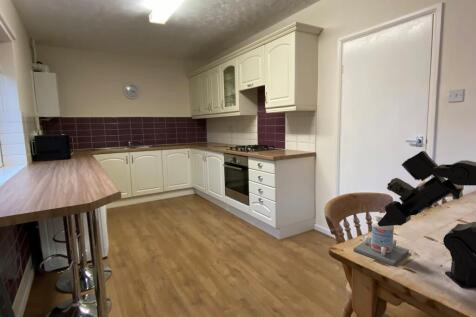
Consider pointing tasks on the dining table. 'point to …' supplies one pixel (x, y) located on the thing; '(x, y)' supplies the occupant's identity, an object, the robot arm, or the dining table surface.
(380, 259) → the pin tray
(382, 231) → the pill bottle
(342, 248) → the dining table surface
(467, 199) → the dining table surface
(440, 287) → the dining table surface
